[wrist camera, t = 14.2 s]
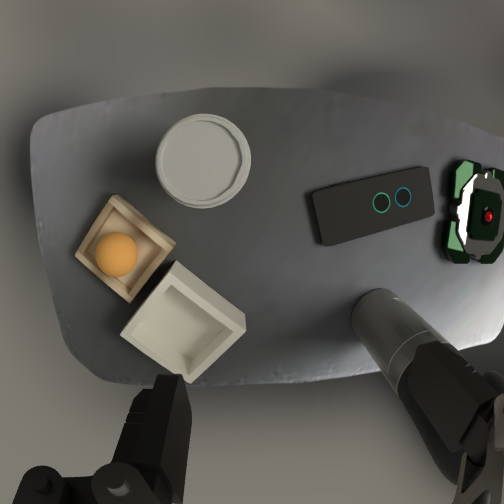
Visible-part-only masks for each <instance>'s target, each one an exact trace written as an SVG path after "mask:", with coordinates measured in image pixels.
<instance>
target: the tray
mask: <svg viewBox="0 0 504 504" xmlns="http://www.w3.org/2000/svg"><path fill="white" fill-rule="evenodd" d="M112 232H121V233H124V234H126V235H128V236H129V237H131V238H132V240H133V241H134V242H135V244H136V246H137V250H138V259H137V263H136V265H135V267H134V268H133V269H132V271H131V272H129V273H128V274H126V275H124V276H121V277H112V276H109V275H107V274H105V273H104V272H103V271H102V270H101V269H100V268H99V266H98V265H97V262H96V258H95V251H96V247H97V244H98V242H99V241H100V240H101V239H102V238H103V237H104V236H105V235H107V234H109V233H112ZM175 245H176V242H175V241H173V240H172V239H171V238H170V237H169V236H167V235H166V234H165V233H164V232H163V231H161V230H160V229H159V228H158V227H157V226H156V225H154V224H153V223H152V222H151V221H150V220H148V219H147V218H146V217H145V216H144V215H143V214H141V213H140V212H139V211H138V210H137V209H136V208H135V207H133V206H132V205H131V204H130V203H129V202H128V201H126V200H125V199H124V198H123V197H122V196H121V195H120V194H116V195H113V196H112V197H111V198H110V200H109V201H108V203H107V204H106V206H105V207H104V209H103V210H102V212H101V213H100V215H99V216H98V218H97V219H96V221H95V222H94V224H93V225H92V227H91V229H90V230H89V232H88V234H87V235H86V237H85V238H84V240H83V242H82V243H81V245H80V247H79V249H78V250H77V252H76V254H75V255H74V256H75V257H77V258H78V259H79V260H80V261H81V262H82V263H83V264H84V265H85V266H86V267H88V268H89V269H90V270H91V271H92V272H93V273H94V274H95V275H97V276H98V277H99V278H100V279H101V280H102V281H103V282H105V283H106V284H107V285H108V286H109V287H111V288H112V289H113V290H114V291H115V292H117V293H118V294H119V295H120V296H121V297H123V298H124V299H125V300H126V301H127V302H129V303H131V301H132V300H133V299H134V297H135V296H136V295H137V293H138V292H139V291H140V289H141V288H142V287H143V285H144V284H145V283H146V281H147V280H148V279H149V278H150V276H151V275H152V274H153V272H154V271H155V270H156V269H157V267H158V266H159V265H160V264H161V262H162V261H163V260H164V258H165V257H166V256H167V255H168V253H169V252H170V251H171V250H172V249H173V247H174V246H175Z"/></svg>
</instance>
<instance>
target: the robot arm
mask: <svg viewBox="0 0 504 504" xmlns="http://www.w3.org/2000/svg"><path fill="white" fill-rule="evenodd" d="M351 324H352V327H353V329H354V331H355V332H356V334H357V335H358V337H359V338H360V340H361V341H362V343H363V344H364V346H365V347H366V349H367V350H368V352H369V353H370V355H371V356H372V358H373V359H374V361H375V362H376V364H377V365H378V366H379V368H380V369H381V371H382V372H383V374H384V375H385V377H386V378H387V380H388V381H389V383H390V384H391V386H392V387H393V389H394V390H395V392H396V393H397V395H398V396H399V398H400V399H401V401H402V403H403V404H404V406H405V409H406V410H407V412H408V414H409V415H410V417H411V419H412V420H413V422H414V424H415V425H416V427H417V429H418V431H419V433H420V435H421V437H422V439H423V441H424V442H425V445H426V447H427V449H428V451H429V452H430V454H431V456H432V458H433V460H434V462H435V464H436V465H437V467H438V468H439V470H440V471H441V472H442V474H443V475H444V476H445V477H446V478H447V479H448V480H449V481H450V482H451V483H453V484H455V485H457V488H456V493H455V497H454V500H453V503H452V504H504V376H502V375H501V374H499V373H497V372H495V371H486V372H484V373H483V374H482V375H480V374H479V373H478V372H476V370H475V369H474V368H473V367H472V366H469V363H468V362H467V361H466V360H465V359H464V358H463V356H462V354H461V353H460V352H459V351H458V350H457V349H456V348H455V347H454V346H453V345H451V344H450V343H449V342H448V341H447V340H446V339H445V338H444V337H443V336H442V335H441V334H439V333H438V332H437V331H436V330H435V329H434V328H433V327H432V326H431V325H429V324H428V323H427V322H426V321H425V320H424V319H423V318H422V317H421V316H419V315H418V314H417V313H416V312H415V311H414V310H413V309H412V308H411V307H409V306H408V305H407V304H406V303H405V302H404V301H403V300H402V299H400V298H399V297H398V296H397V295H396V294H395V293H393V292H392V291H390V290H387V289H376V290H373V291H370V292H369V293H367V294H365V295H364V296H363V297H362V298H361V299H360V300H359V301H358V302H357V304H356V305H355V307H354V309H353V312H352V316H351ZM191 426H192V412H191V406H190V402H189V399H188V395H187V391H186V387H185V383H184V379H183V376H182V374H158V375H157V377H156V380H155V384H154V387H153V389H143V390H142V391H141V392H140V393H139V394H138V395H137V396H136V397H135V398H134V399H133V402H132V405H131V407H130V410H129V413H128V415H127V418H126V423H125V424H124V427H123V429H122V433H121V435H120V438H119V441H118V444H117V447H116V450H115V453H114V456H113V459H112V461H111V463H109V464H106V465H104V466H102V467H100V468H99V469H98V470H97V471H96V472H95V473H94V475H93V476H87V477H61V475H60V474H59V473H58V472H57V471H56V470H55V469H53V468H51V467H48V466H36V467H33V468H31V469H30V470H28V471H27V472H26V473H25V474H24V476H23V478H22V480H21V483H20V485H19V487H18V490H17V493H16V495H15V498H14V500H13V503H12V504H172V503H175V504H182V503H183V495H184V485H185V476H186V467H187V459H188V449H189V441H190V434H191Z"/></svg>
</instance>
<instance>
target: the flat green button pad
mask: <svg viewBox="0 0 504 504" xmlns="http://www.w3.org/2000/svg"><path fill="white" fill-rule="evenodd" d="M448 197H449V198H450V199H453V200H454V201H453V204H450V206H449V214H451V216H452V218H451V221H450V220H447V221H446V222H445V226H444V233H443V240H442V248H443V250H444V252H445V254H446V256H447V258H448V260H449V261H451V262H453V263H455V264H468V263H469V262H470V257H472V258H474V259H477V262H479V263H481V264H492V263H494V262H495V261H496V259H497V258H498V257H499V255H500V254H501V253H502V251H503V248H504V171H502V170H499V169H496V168H489V171H485V170H482V166H481V164H480V163H477V162H474V161H470V160H465V159H463V160H460V161H459V163H458V164H457V165H456V166H455V167H454V168H453V169H452V170H451V173H450V182H449V194H448Z"/></svg>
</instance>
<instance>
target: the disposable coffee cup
mask: <svg viewBox="0 0 504 504" xmlns="http://www.w3.org/2000/svg"><path fill="white" fill-rule="evenodd" d="M250 165H251V155H250V148H249V145H248V143H247V140H246V138H245V137H244V135H243V134H242V132H241V131H240V130H239V129H238V128H237V127H236V126H235V125H234V124H233V123H231V122H230V121H228V120H227V119H225V118H222V117H220V116H216V115H211V114H197V115H192V116H189V117H186V118H184V119H182V120H180V121H178V122H177V123H175V124H174V125H173V126H172V127H171V128H170V129H169V130H168V131H167V132H166V133H165V134H164V136H163V137H162V139H161V141H160V143H159V146H158V148H157V152H156V160H155V167H156V173H157V176H158V180H159V182H160V184H161V185H162V187H163V189H164V190H165V191H166V192H167V194H168V195H169V196H171V197H172V198H173V199H174V200H176V201H177V202H179V203H181V204H183V205H185V206H189V207H192V208H210V207H215V206H218V205H220V204H223V203H225V202H227V201H228V200H230V199H231V198H233V197H234V196H235V195H236V194H237V193H238V192H239V191H240V189H241V188H242V187H243V185H244V184H245V182H246V180H247V177H248V174H249V171H250Z"/></svg>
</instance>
